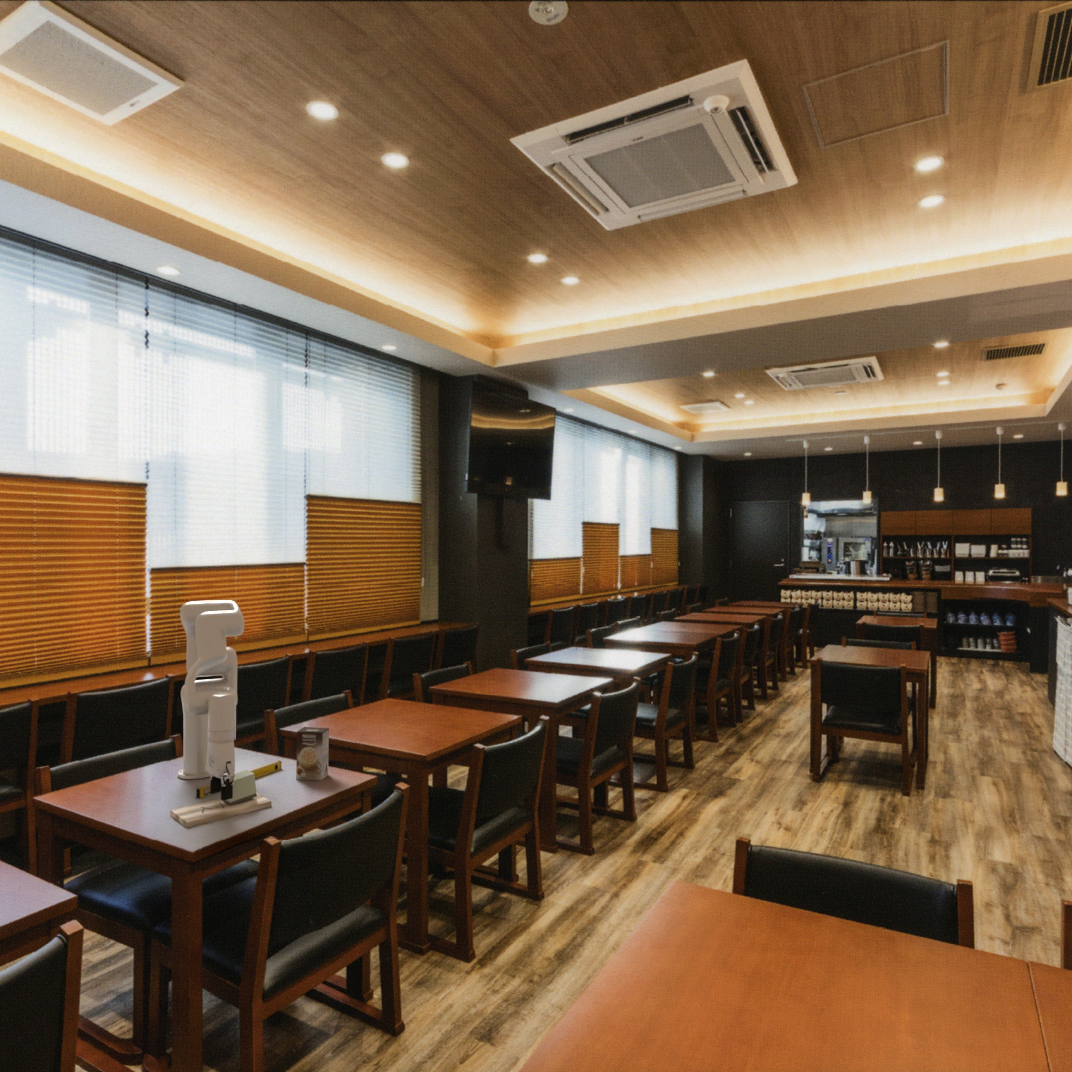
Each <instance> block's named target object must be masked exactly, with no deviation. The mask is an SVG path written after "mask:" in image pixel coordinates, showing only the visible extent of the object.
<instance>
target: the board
mask: <svg viewBox="0 0 1072 1072" xmlns="http://www.w3.org/2000/svg"><path fill="white" fill-rule="evenodd" d="M256 793H257V796H256V797H253V798H251V799H248V800H245V801H242V802H240V803H237V804H234V805H231V806H230V805H228V804H226V803H225V802H223V801H222V800H221V797H220V798H218V799H217V798H216V799H212V800H207V801H203V802H200V803H195V804H191V805H187V806H183V807H182V806H181V807H179V808H174V809H171V810H170V816H171V817H172V818H173V819H175V820H176V821H177V822H179V823H180V824H181V825H183V827H185V828H186V829H187V828H191V827H195V826H199V825H204V824H208V823H211V822H214V821H215V822H216V821H219V820H223V819H227V818H231V817H235V816H238V815H243V814H246V813H251V812H254V811H258V810H262V809H266V808H271V807H272V800H270V799H268V798H267V797H264V796H263V795H261V794H259V793H258V792H256Z"/></svg>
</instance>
